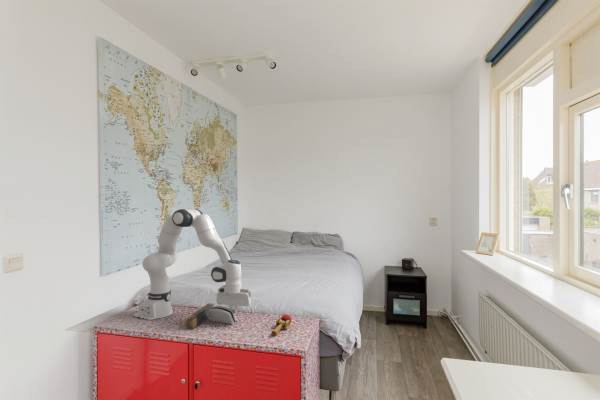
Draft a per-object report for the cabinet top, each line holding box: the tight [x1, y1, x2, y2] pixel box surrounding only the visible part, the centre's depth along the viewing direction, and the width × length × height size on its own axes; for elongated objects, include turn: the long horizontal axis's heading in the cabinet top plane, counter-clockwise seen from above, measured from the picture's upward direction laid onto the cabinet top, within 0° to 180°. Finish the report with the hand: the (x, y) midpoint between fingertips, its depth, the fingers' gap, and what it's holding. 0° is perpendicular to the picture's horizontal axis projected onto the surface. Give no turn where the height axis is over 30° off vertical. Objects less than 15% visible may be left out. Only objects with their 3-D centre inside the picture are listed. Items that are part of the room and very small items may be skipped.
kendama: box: [271, 313, 292, 337], centre depth 164 cm, size 8×6×18 cm
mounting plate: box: [196, 303, 213, 328], centre depth 176 cm, size 1×16×7 cm, turn 169°
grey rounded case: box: [209, 305, 238, 325], centre depth 175 cm, size 17×5×10 cm, turn 67°
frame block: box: [185, 303, 215, 330], centre depth 176 cm, size 4×24×6 cm, turn 168°
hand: (233, 312), depth 173 cm, fingers closed
